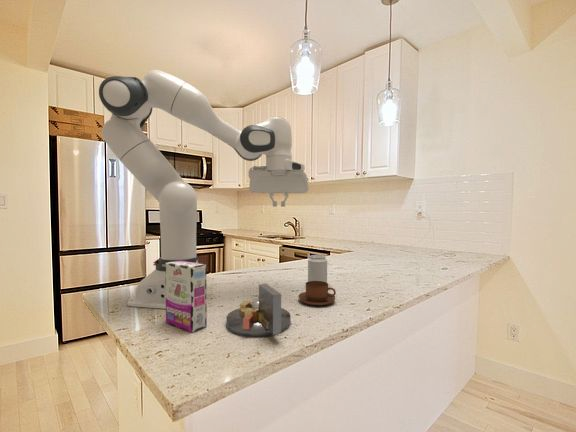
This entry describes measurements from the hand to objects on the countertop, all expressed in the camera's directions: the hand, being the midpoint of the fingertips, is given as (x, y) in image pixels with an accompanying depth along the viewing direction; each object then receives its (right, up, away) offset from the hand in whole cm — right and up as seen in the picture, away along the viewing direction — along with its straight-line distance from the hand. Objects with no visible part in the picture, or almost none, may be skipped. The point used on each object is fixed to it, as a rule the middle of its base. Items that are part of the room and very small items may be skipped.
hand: (278, 206), depth 102 cm
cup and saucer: (+13, -32, -5) cm, 35 cm away
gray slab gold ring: (-3, -30, -27) cm, 40 cm away
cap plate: (-5, -32, -23) cm, 40 cm away
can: (+15, -31, +13) cm, 37 cm away
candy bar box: (-24, -32, -24) cm, 47 cm away
